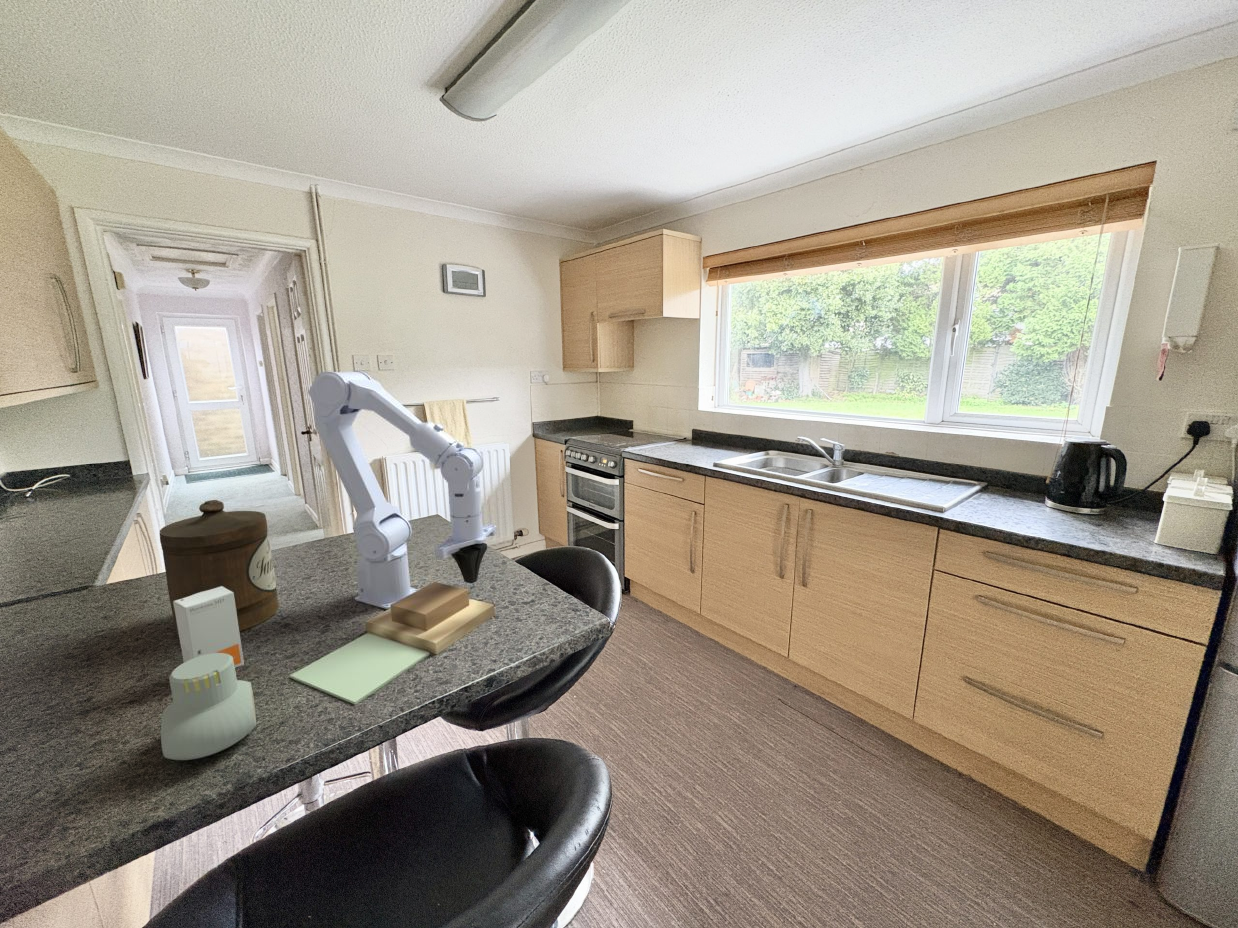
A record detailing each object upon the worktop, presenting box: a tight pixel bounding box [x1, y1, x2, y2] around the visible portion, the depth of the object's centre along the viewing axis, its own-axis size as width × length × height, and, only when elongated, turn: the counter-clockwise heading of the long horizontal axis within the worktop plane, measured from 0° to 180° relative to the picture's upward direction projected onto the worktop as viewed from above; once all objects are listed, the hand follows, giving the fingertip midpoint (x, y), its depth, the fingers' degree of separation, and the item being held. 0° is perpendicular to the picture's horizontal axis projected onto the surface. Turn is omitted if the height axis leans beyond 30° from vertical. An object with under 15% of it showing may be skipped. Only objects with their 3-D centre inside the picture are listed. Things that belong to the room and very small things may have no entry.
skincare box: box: [173, 586, 245, 669], centre depth 74 cm, size 6×4×12 cm
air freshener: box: [160, 653, 257, 761], centre depth 60 cm, size 11×8×10 cm
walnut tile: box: [390, 581, 470, 631], centre depth 87 cm, size 8×10×3 cm
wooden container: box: [159, 499, 280, 636], centre depth 88 cm, size 15×15×22 cm
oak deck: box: [365, 598, 496, 656], centre depth 88 cm, size 16×14×2 cm
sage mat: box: [289, 632, 431, 706], centre depth 75 cm, size 14×13×1 cm
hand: (470, 581), depth 96 cm, fingers closed
